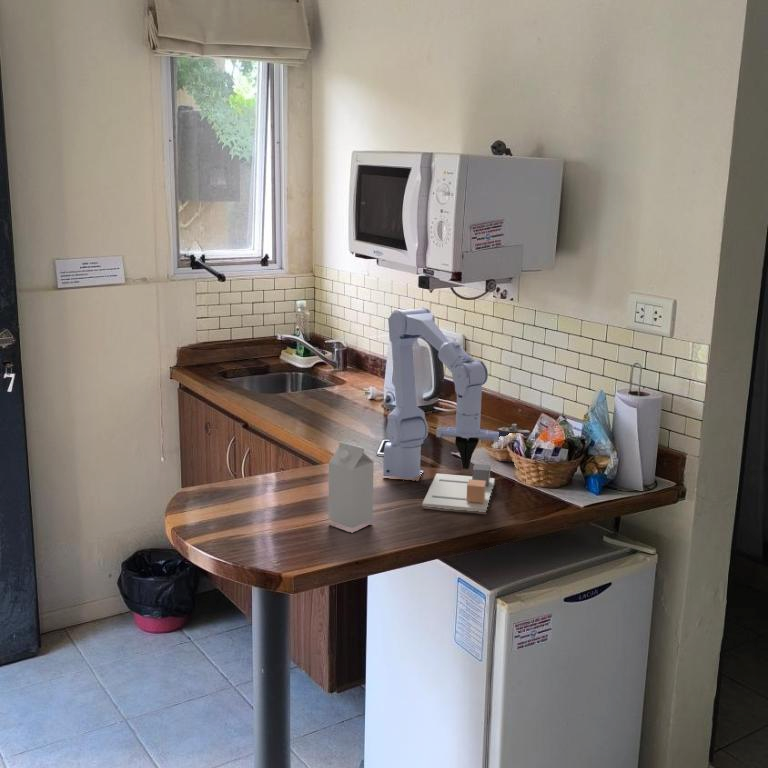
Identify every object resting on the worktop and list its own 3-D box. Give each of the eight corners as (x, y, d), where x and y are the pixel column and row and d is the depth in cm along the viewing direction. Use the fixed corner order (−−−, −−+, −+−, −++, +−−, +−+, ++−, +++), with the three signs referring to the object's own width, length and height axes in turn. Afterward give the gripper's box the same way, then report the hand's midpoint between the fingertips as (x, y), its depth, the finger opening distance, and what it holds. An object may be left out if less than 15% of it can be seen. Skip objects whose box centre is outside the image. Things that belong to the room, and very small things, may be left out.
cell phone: (375, 457, 256) (375, 454, 255) (382, 441, 270) (382, 438, 270) (403, 458, 255) (403, 455, 254) (408, 443, 269) (408, 440, 269)
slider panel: (422, 509, 217) (422, 502, 217) (436, 478, 238) (436, 473, 238) (485, 515, 214) (486, 508, 214) (494, 483, 235) (494, 478, 235)
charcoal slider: (472, 484, 229) (472, 469, 228) (474, 478, 233) (474, 463, 232) (488, 485, 228) (488, 470, 227) (489, 480, 232) (490, 465, 231)
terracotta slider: (466, 501, 217) (467, 485, 216) (468, 495, 222) (469, 479, 221) (483, 502, 217) (484, 486, 216) (485, 496, 221) (485, 480, 220)
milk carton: (349, 517, 211) (349, 438, 207) (372, 525, 207) (374, 444, 203) (328, 526, 206) (328, 445, 202) (351, 534, 202) (352, 451, 197)
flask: (529, 461, 254) (531, 423, 251) (528, 464, 251) (530, 426, 249) (495, 458, 256) (497, 421, 253) (494, 461, 253) (496, 424, 251)
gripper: (435, 414, 213) (433, 470, 216) (497, 419, 210) (495, 475, 213) (439, 406, 219) (437, 461, 222) (500, 411, 216) (497, 466, 220)
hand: (466, 467), depth 218 cm, fingers closed
